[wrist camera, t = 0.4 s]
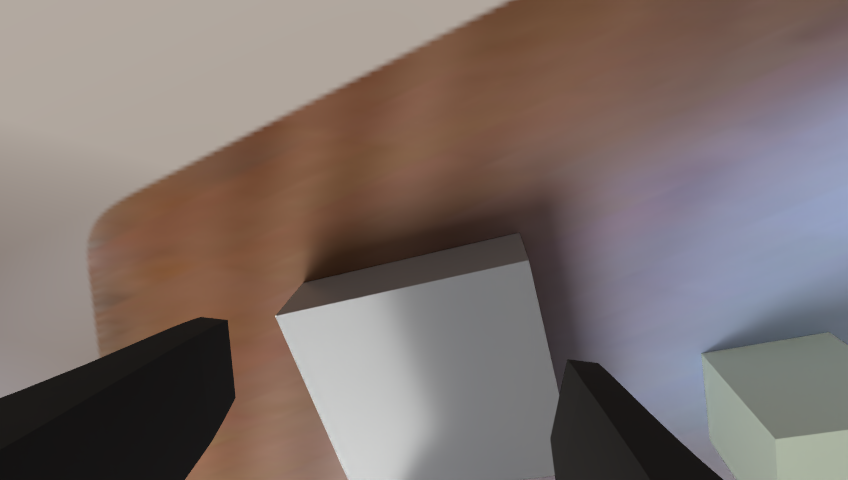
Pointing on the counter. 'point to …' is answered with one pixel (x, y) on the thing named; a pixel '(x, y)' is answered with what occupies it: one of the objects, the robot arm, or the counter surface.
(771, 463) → the green block
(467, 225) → the counter surface
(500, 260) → the stone base
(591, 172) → the counter surface
